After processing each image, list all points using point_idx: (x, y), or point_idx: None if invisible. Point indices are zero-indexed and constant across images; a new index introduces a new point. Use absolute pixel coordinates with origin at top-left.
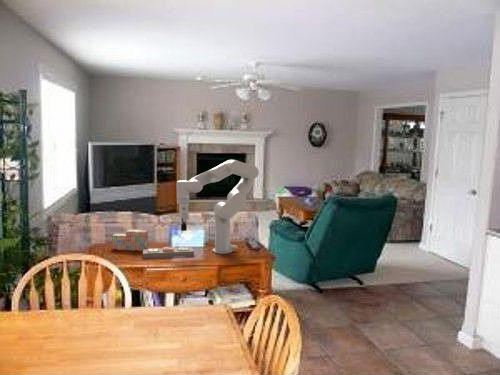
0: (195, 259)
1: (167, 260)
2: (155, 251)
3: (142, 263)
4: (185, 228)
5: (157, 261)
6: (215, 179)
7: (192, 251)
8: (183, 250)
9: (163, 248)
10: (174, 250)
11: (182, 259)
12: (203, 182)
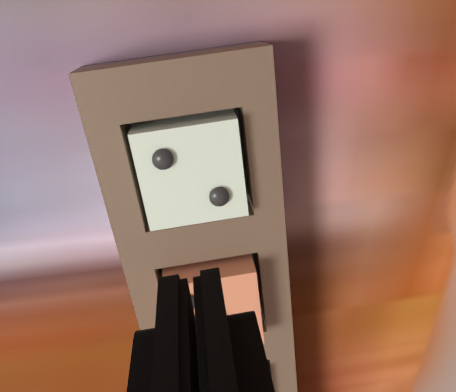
0: (389, 18)
1: (369, 259)
2: None
3: (407, 386)
4: (228, 317)
5: (381, 317)
6: None
7: (273, 61)
8: (242, 167)
9: None
10: (222, 251)
11: (364, 147)
12: None
